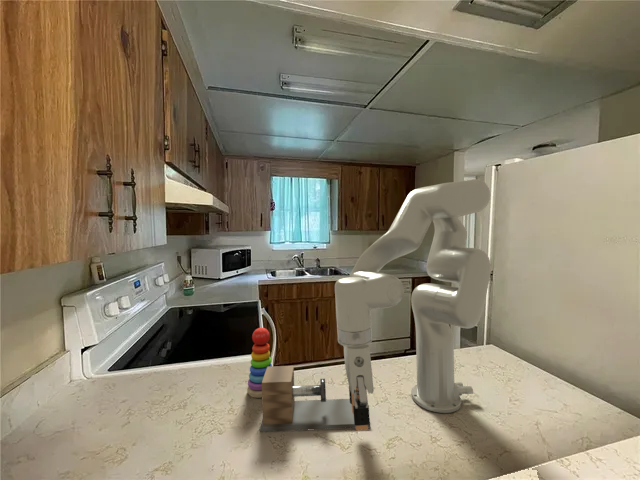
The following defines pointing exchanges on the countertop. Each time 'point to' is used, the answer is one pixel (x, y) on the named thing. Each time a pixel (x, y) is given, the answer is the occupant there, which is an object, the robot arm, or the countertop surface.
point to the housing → (299, 406)
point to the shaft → (311, 390)
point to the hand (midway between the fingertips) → (359, 412)
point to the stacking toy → (259, 362)
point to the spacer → (361, 427)
